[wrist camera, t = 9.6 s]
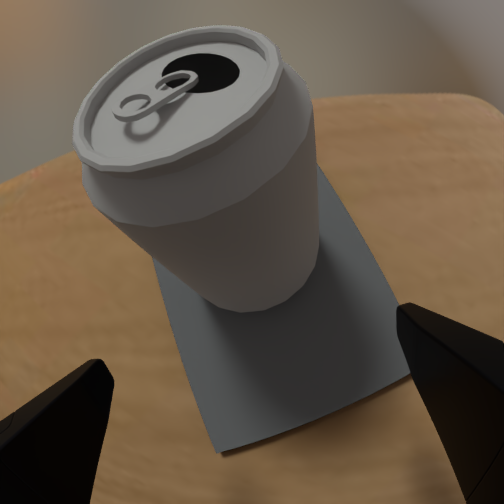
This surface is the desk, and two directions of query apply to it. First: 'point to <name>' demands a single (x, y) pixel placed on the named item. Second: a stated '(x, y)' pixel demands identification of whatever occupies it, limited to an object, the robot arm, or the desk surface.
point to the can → (208, 163)
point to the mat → (291, 340)
